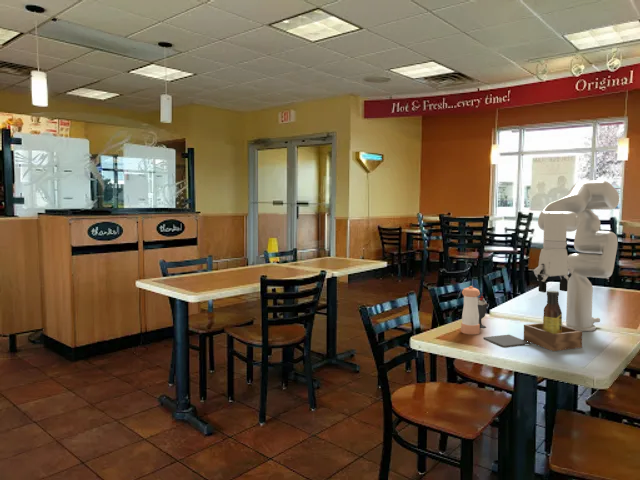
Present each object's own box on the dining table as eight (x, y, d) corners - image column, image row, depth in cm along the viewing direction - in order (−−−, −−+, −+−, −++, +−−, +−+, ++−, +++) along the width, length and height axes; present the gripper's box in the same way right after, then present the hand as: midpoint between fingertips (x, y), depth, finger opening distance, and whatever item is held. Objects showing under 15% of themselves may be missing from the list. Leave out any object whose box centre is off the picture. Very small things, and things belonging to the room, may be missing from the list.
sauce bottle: (563, 346, 176) (565, 293, 175) (545, 345, 178) (546, 292, 176) (558, 341, 183) (559, 290, 181) (540, 340, 184) (542, 289, 183)
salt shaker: (460, 333, 195) (460, 287, 194) (461, 329, 202) (462, 284, 201) (479, 335, 193) (479, 288, 191) (480, 330, 200) (480, 285, 198)
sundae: (483, 329, 201) (483, 294, 200) (468, 326, 206) (469, 292, 205) (491, 326, 206) (491, 292, 204) (477, 324, 211) (477, 290, 209)
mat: (509, 336, 191) (509, 334, 191) (530, 344, 180) (530, 342, 180) (483, 338, 188) (483, 337, 188) (503, 347, 176) (503, 345, 176)
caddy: (550, 336, 189) (551, 322, 189) (581, 347, 175) (582, 331, 175) (523, 340, 185) (523, 324, 185) (553, 351, 171) (553, 334, 171)
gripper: (565, 244, 184) (563, 288, 185) (528, 245, 178) (526, 290, 179) (581, 245, 176) (579, 292, 177) (543, 246, 171) (541, 294, 172)
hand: (552, 291), depth 178 cm, fingers open, 9 cm apart
